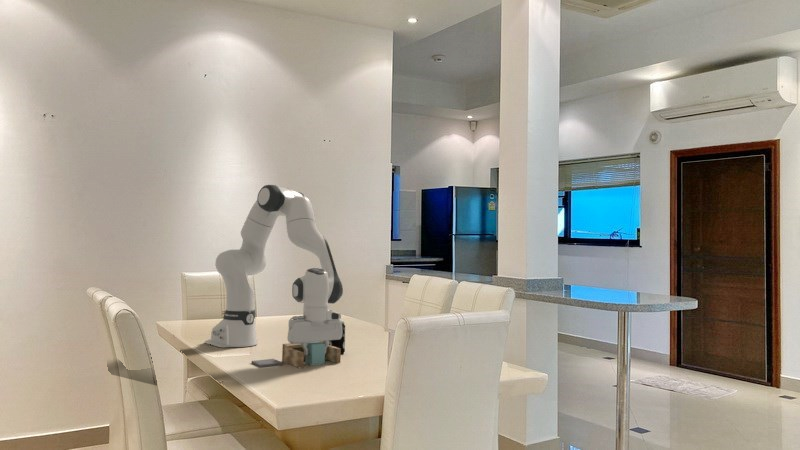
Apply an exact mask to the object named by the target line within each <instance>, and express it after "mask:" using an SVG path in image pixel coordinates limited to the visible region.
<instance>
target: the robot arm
mask: <svg viewBox="0 0 800 450" xmlns="http://www.w3.org/2000/svg"><path fill="white" fill-rule="evenodd" d="M314 211H315V210H314V208H313V204H312V201H310V199H309V197H308V196H307V195H306V194H304V193H302V192H299V191H296V190H293V189H291V188H288V187H284V186H278V185H276V184H266V185H263V186H262V187H261V189H259V191H258V193H257V199H256V201H255V202H254V204H253V205H252V207H251V209H250V210H249V212H248V215H247V217H246V219H245V221H244V224H243V225H242V228H241V230H240V237H241V238H242V243H241V247H240V248H239V249H227V250H225V251H222V252H220V253H219V254H218V255H217V257H216V258H215V268H216V271H217V272H218V273H219V274H220V276H221V277H222V279H223V281H224V286H225V292H226V310H224V311H223V310H222V315H223V317H222V318H223V319H222V320H221V321H219V322H218V323H217V324H216V325H215V326H213V327H212V328H211V334H210V338H209V339H206V340H204V344H207V345H210V344H211V346H214V347H219V348H245V347H252V346H257V345H258V341H259V340H258V338H257V329H256V322H255V319H256V309H255V295H256V294H255V293H256V292H255V290H254V288H253V287H252V286H251V284H250V282H249V277H250V276H255V275H257V274H260V273H261V272H263V271H264V270H265V268H266V264H267V258H266V257H265V249H266V245H267V242H268V239H269V237H270V235H271V232H272V231H273V228H274V226H275V224H276V221H277V219H278V218H279V216H284V217H285V221H286V222H285V224H286V232H287V237H288V240H289V241H290V242H291V243H292V244H293V245H294V246H296V247H298V248H300V249H302V250H305V251H308V252H310V253H312V254H314V255H315V256H316V257H317V258H318V260H319V264H320V266H321V268H320V267H319V268H315V267H313V268H308V269H306V270H305V272H304V273H305V274H304V275H303V276H300V277H298V278H296V279H295V280H294V282H293V283H292V289H291V290H292V293H291V294H292V297H293V299H294V300H295V301H296V302H297V303H301V304H303V309H302V310H303V314H302V315H297V316H296V315H293V316H292V317H291V318H289V320H288V331H287V341H288V343H292V344H297V343H301V346H302V348H303V350H304V355H305V356H307V355H310V350H308V349H307V347H306V346H307V343H308V342H318V341H323V343H324V344H325V353H326V349H327V347H328V345H329V340H339V339H341V338H342V334H343V331H342V322H343V321H342V322H341V319H342V314H341V312H337V311H333V310H331V309H329V307H330V305H329V304H335V303H337V302H338V301H339V300H340V299H341V298H342V296H343V293H344V292H343V291H344V290H343V284H342V281H341V278H340V277H339V275H338V271H337V269H336V265H335V261H334V258H333V255H332V251H331V248H330V245H329V243H328V240H327V239H326V237H324V236H323V235H322V234H321V233H320V231H319V229H318V227H317V223H316V216H315V212H314Z"/></svg>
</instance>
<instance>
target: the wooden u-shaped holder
mask: <svg viewBox="0 0 800 450" xmlns="http://www.w3.org/2000/svg"><path fill="white" fill-rule="evenodd" d="M318 342H321V343H323V341H318ZM308 343H309V342H308ZM281 353H282V355H281V357H282V358H281V360H282V361H281V362H283V363H287V364H289V365H291V366H294V367H296V368H300V369H301V368H304V363H305V355H304V350H303V348H302V346H301V343H297V344H292V343H289V342H288V343H282V351H281ZM341 355H342V354H341V348H337V347H334V346H331V345H328V347H327V349H326V353H325V361H329V362H332V363H334V364H340V363H341Z"/></svg>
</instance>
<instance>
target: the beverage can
mask: <svg viewBox="0 0 800 450" xmlns="http://www.w3.org/2000/svg"><path fill="white" fill-rule="evenodd" d="M340 321H341V320H340ZM341 322H342V331H343V334H342V338H341V339H339V340H329V345H331V346H334V347H337V348H341V355H343V354H344V353H345V351H346V347H345V346H346V325H345V322H344V321H341Z"/></svg>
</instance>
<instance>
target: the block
mask: <svg viewBox="0 0 800 450" xmlns="http://www.w3.org/2000/svg"><path fill="white" fill-rule="evenodd" d="M306 347H307V349H308V350H310V355H307V356H305V359H304V363H305V364H307V365H310V366H317V365H325V364H326V363H325V361H326V359H325V344H324V343H321V342H309V343H307V346H306Z"/></svg>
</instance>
